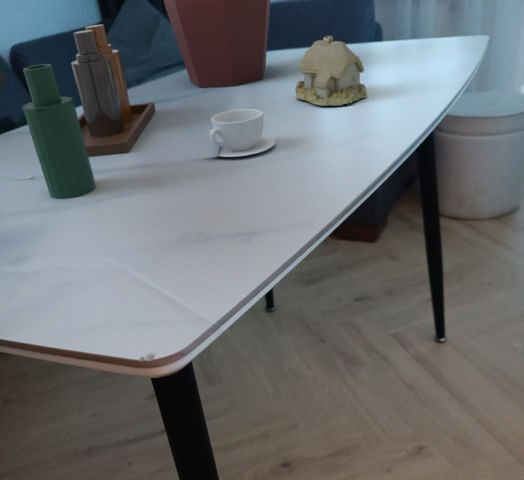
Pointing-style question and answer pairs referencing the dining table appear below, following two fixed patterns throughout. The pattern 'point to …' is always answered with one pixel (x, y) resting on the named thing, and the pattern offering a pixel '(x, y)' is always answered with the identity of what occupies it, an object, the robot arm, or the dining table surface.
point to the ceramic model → (330, 74)
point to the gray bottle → (97, 87)
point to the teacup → (239, 133)
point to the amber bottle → (114, 69)
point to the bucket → (221, 39)
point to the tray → (122, 140)
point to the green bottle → (57, 136)
